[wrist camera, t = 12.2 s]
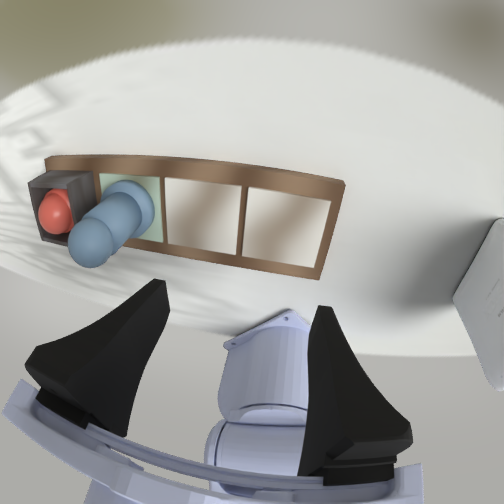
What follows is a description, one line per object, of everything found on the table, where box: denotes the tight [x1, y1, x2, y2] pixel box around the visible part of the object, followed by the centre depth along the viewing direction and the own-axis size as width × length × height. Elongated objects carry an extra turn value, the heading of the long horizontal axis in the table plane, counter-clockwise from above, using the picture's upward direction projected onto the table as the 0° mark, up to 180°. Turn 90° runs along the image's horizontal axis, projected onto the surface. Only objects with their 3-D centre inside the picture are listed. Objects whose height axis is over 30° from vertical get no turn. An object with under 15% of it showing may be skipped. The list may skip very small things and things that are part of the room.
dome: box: [38, 188, 74, 234], centre depth 19 cm, size 4×4×4 cm
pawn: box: [68, 179, 155, 268], centre depth 17 cm, size 5×5×7 cm
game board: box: [28, 155, 346, 280], centre depth 19 cm, size 26×8×4 cm, turn 84°
